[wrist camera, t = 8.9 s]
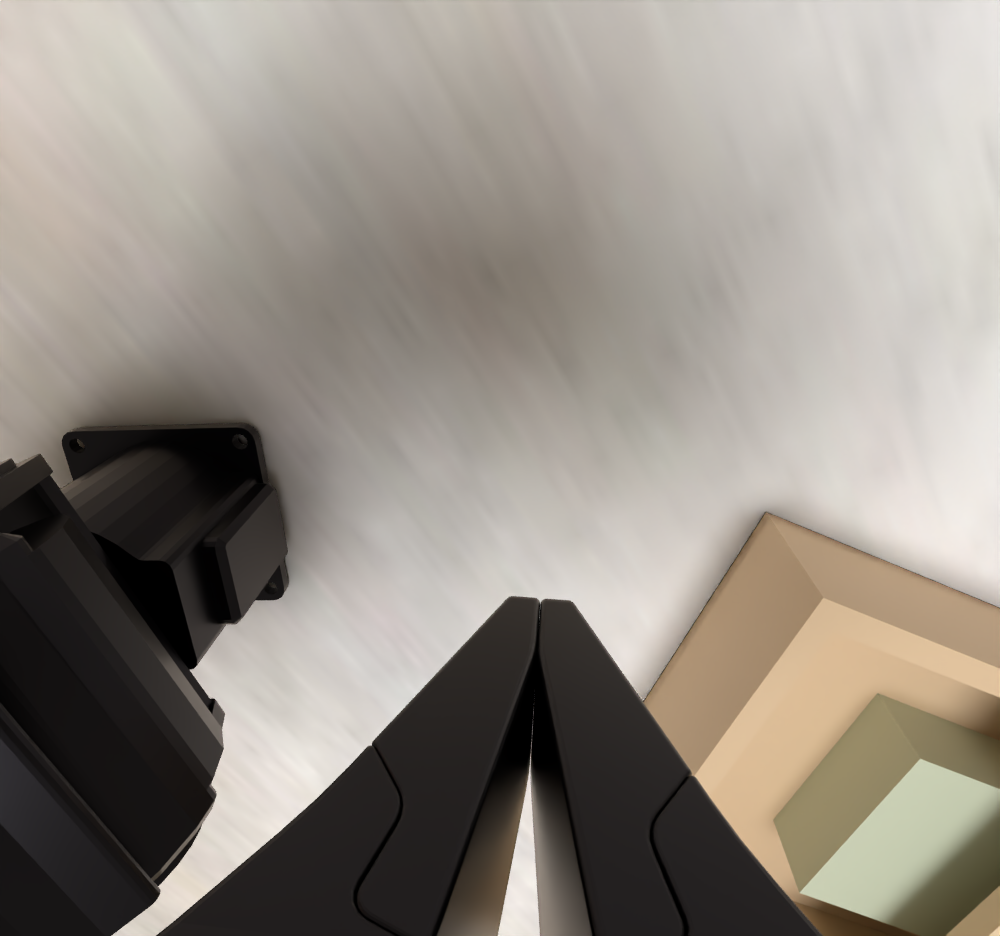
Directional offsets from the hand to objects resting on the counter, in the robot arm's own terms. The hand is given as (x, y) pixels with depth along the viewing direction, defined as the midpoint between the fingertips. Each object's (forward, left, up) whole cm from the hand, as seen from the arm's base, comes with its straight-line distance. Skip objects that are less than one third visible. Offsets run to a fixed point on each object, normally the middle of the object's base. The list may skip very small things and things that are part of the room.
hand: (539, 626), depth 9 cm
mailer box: (+13, -16, -13) cm, 25 cm away
